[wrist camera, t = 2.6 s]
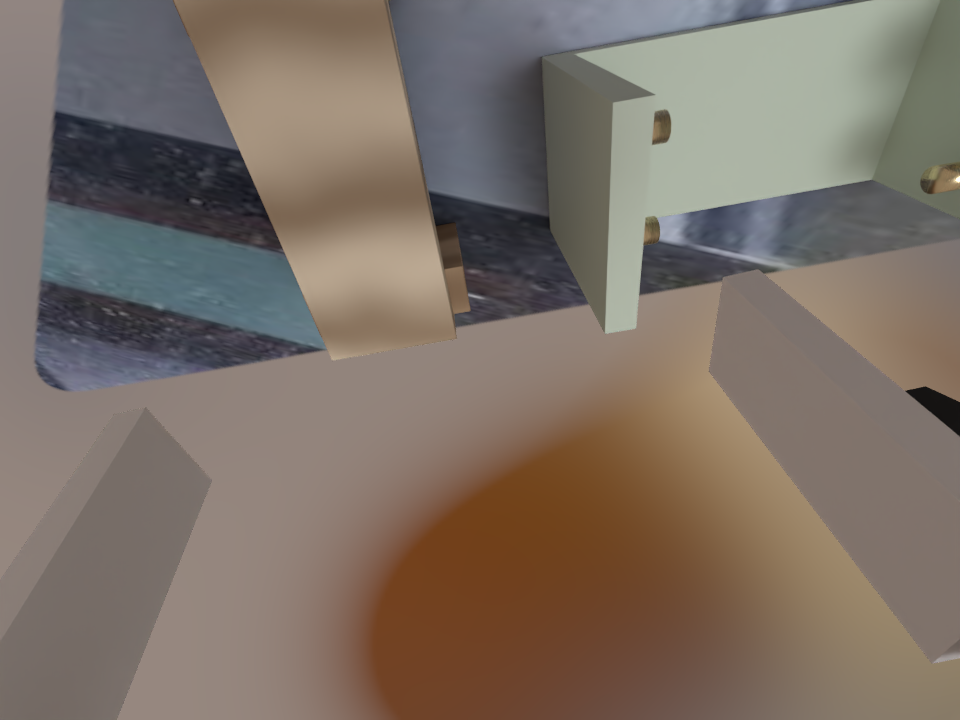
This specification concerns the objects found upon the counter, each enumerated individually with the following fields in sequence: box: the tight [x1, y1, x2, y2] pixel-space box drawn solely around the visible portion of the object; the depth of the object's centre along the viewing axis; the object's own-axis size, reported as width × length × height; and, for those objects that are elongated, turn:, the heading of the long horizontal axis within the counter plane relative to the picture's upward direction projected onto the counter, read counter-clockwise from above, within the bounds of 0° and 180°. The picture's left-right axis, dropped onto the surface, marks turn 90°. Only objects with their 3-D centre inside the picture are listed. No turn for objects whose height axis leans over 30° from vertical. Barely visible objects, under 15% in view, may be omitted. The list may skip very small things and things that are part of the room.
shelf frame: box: [542, 0, 960, 334], centre depth 24 cm, size 23×10×12 cm, turn 98°
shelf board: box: [174, 0, 457, 360], centre depth 22 cm, size 18×7×2 cm, turn 8°
